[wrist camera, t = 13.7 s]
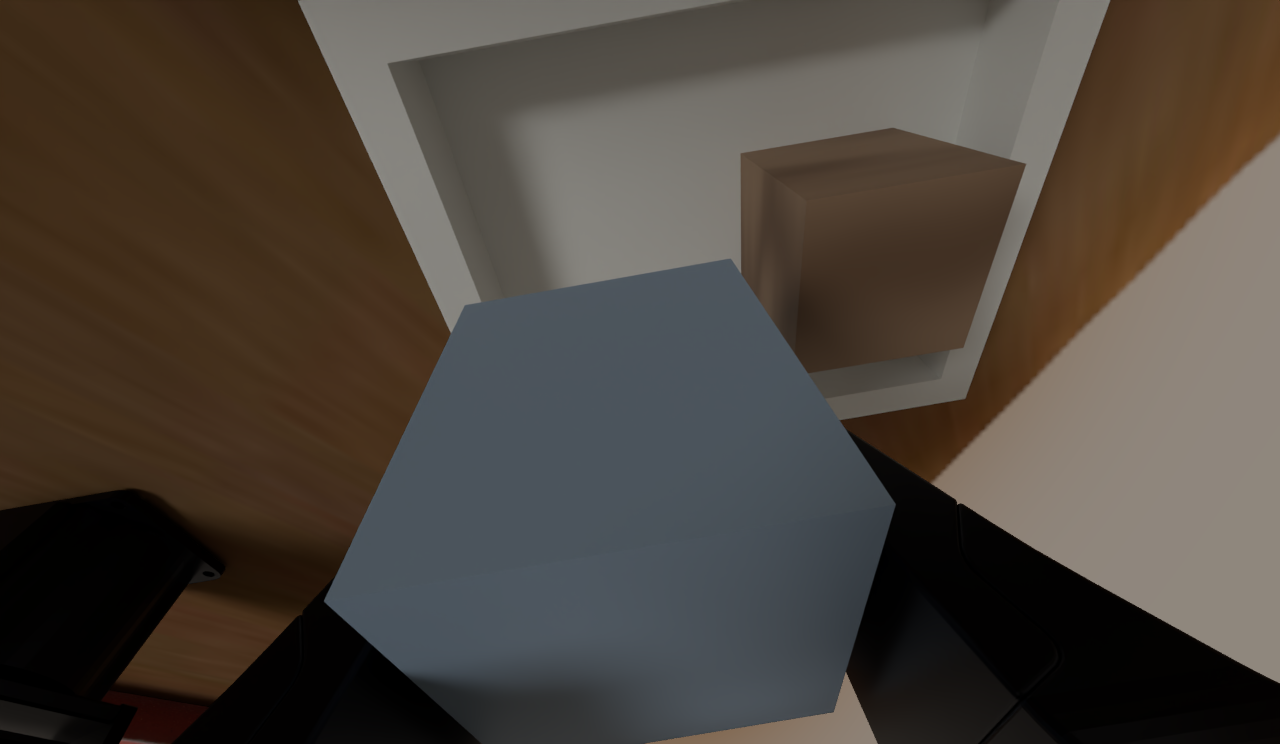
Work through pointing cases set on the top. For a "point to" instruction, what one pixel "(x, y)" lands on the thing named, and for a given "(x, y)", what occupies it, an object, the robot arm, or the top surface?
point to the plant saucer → (155, 718)
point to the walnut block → (872, 242)
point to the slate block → (619, 520)
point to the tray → (681, 130)
